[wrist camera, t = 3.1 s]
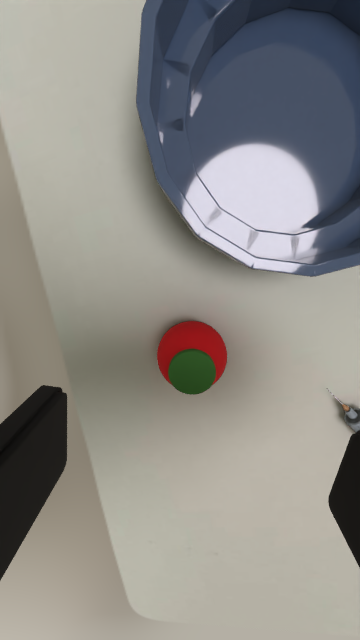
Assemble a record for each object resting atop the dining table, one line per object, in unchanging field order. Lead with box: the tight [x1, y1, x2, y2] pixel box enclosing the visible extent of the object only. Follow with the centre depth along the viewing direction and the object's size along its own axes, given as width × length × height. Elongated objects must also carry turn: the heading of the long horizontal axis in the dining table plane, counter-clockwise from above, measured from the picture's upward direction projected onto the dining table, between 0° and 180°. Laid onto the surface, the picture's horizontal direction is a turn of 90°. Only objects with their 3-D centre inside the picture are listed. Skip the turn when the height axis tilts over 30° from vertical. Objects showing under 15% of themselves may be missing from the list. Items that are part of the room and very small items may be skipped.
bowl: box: [136, 0, 360, 277], centre depth 12 cm, size 13×13×5 cm
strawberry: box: [157, 321, 227, 394], centre depth 15 cm, size 4×4×4 cm
